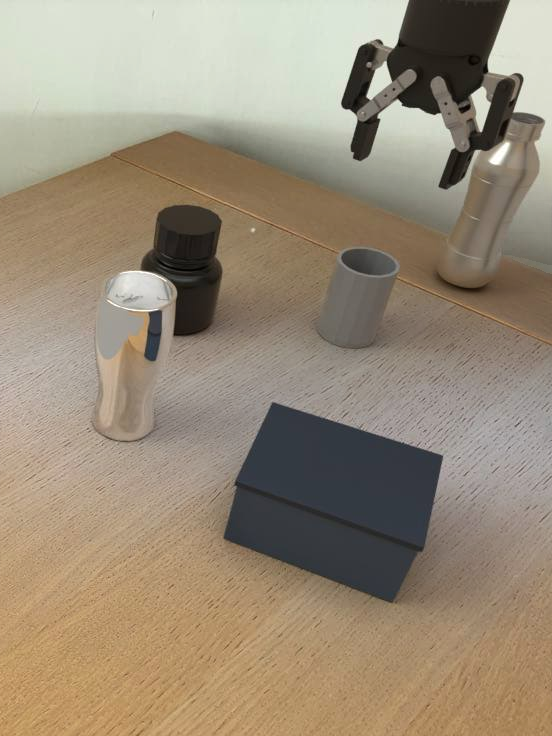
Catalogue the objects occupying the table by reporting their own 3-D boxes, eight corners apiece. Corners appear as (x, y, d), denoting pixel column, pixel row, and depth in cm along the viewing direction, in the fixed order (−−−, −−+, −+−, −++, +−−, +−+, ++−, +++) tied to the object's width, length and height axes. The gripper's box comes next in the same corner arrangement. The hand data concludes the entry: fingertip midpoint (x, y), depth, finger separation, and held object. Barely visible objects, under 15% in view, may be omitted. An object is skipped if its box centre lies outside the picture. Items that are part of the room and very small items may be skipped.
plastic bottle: (474, 301, 97) (546, 136, 84) (420, 278, 101) (481, 116, 88) (499, 282, 101) (572, 120, 88) (446, 260, 104) (508, 102, 92)
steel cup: (379, 325, 93) (404, 255, 88) (369, 354, 89) (394, 283, 83) (323, 310, 96) (344, 241, 90) (311, 338, 91) (331, 267, 86)
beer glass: (74, 408, 82) (84, 278, 72) (135, 390, 84) (153, 262, 75) (108, 452, 77) (123, 319, 68) (172, 433, 79) (195, 301, 70)
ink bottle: (189, 286, 99) (204, 193, 92) (231, 325, 93) (252, 229, 86) (118, 303, 96) (128, 209, 89) (157, 344, 90) (171, 247, 83)
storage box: (415, 513, 72) (443, 455, 67) (394, 606, 64) (424, 547, 60) (256, 459, 77) (272, 401, 72) (220, 539, 69) (235, 480, 65)
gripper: (572, -6, 66) (494, 184, 76) (402, -38, 74) (353, 139, 84) (535, 12, 62) (458, 210, 73) (360, -24, 70) (313, 160, 80)
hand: (401, 171), depth 78 cm, fingers open, 8 cm apart
